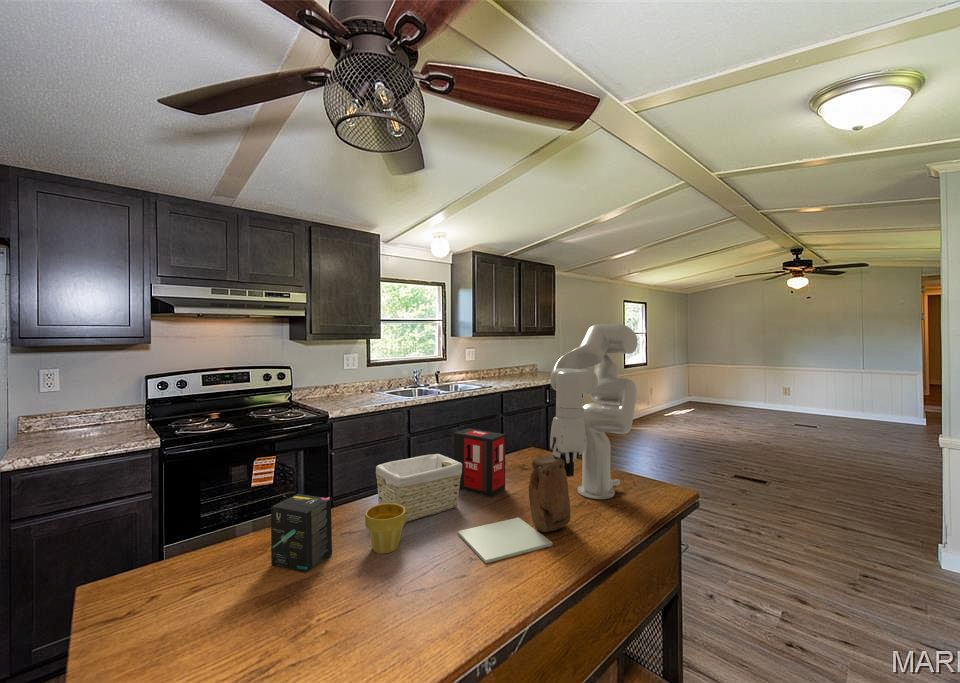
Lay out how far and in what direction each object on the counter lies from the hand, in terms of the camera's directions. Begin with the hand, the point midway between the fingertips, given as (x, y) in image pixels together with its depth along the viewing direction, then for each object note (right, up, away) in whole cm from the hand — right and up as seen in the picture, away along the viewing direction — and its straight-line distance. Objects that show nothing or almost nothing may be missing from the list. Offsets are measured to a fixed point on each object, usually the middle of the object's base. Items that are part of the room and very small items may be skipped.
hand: (568, 475), depth 126 cm
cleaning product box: (-26, -14, +29) cm, 41 cm away
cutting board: (-19, -15, -9) cm, 26 cm away
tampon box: (-70, -15, -20) cm, 74 cm away
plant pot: (-51, -15, -14) cm, 55 cm away
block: (-5, -14, -2) cm, 15 cm away
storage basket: (-45, -15, +11) cm, 49 cm away
